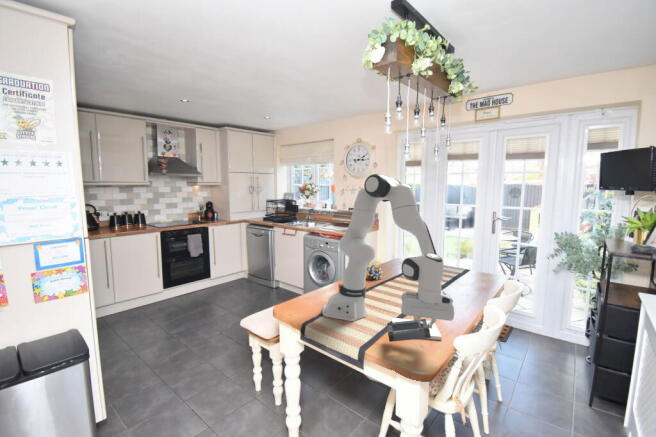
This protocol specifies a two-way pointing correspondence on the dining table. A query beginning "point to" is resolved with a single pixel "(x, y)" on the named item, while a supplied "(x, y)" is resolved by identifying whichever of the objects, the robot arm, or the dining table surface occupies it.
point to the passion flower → (375, 271)
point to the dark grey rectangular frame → (408, 330)
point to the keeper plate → (434, 331)
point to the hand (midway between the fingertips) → (425, 327)
